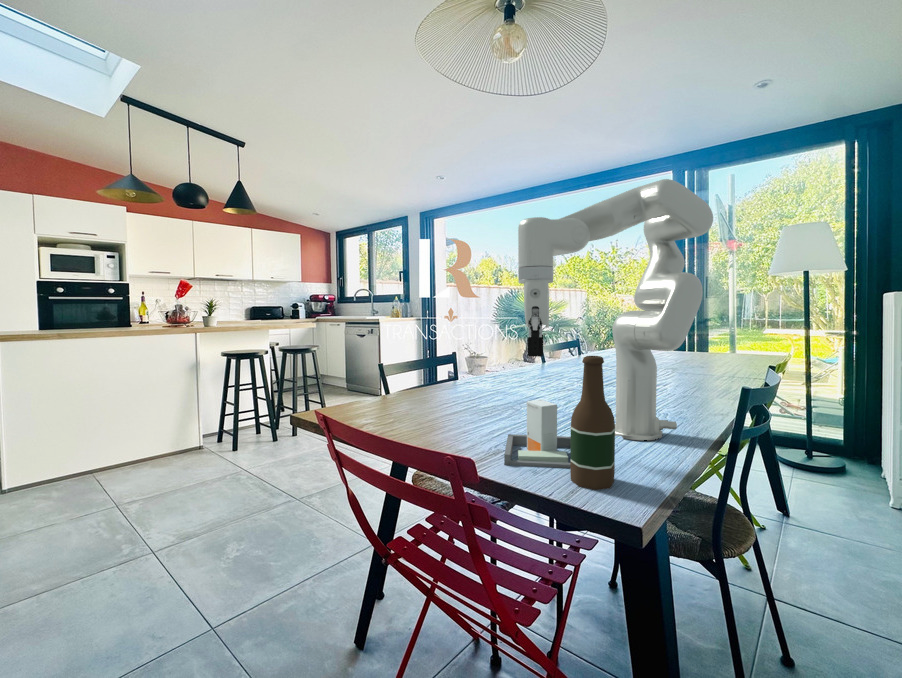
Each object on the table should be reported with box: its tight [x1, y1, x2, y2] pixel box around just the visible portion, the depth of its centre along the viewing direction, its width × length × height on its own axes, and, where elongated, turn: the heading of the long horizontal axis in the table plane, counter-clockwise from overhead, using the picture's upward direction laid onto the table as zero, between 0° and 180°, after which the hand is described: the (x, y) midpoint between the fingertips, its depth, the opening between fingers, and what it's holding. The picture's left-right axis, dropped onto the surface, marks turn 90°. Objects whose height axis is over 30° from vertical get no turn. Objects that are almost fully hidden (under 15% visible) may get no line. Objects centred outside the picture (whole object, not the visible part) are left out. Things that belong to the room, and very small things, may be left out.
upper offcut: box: [517, 449, 569, 463], centre depth 92 cm, size 10×4×2 cm, turn 83°
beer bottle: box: [570, 355, 616, 491], centre depth 80 cm, size 8×8×24 cm
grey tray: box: [503, 433, 571, 469], centre depth 95 cm, size 15×14×3 cm
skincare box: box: [526, 399, 558, 451], centre depth 97 cm, size 6×4×12 cm
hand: (535, 353), depth 97 cm, fingers open, 9 cm apart
